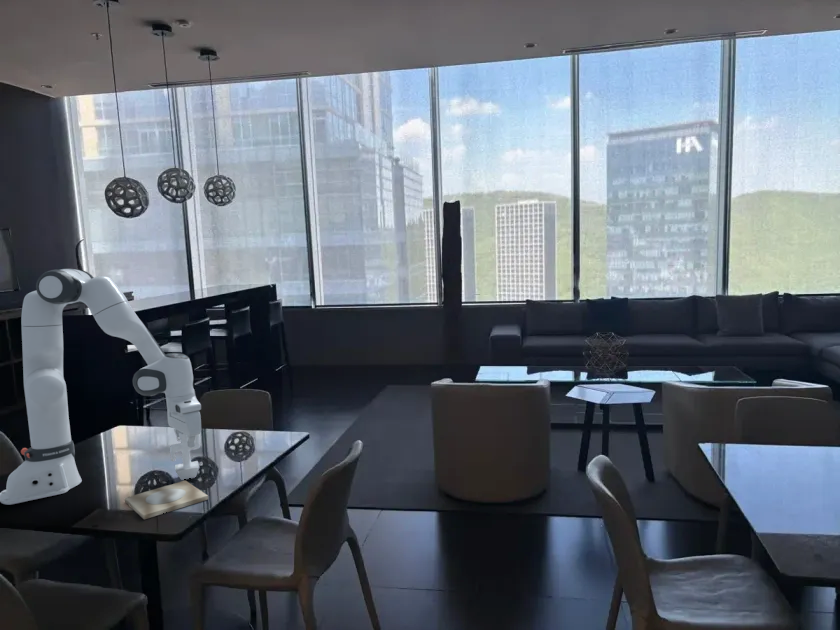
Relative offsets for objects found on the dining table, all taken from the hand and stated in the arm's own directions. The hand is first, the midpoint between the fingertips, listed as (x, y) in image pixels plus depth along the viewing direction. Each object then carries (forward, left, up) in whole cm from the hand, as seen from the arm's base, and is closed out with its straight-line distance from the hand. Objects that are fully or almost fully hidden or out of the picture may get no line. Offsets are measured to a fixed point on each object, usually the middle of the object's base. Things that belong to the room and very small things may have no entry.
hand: (185, 443), depth 194 cm
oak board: (-12, -15, -11) cm, 22 cm away
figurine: (0, 0, -11) cm, 11 cm away
